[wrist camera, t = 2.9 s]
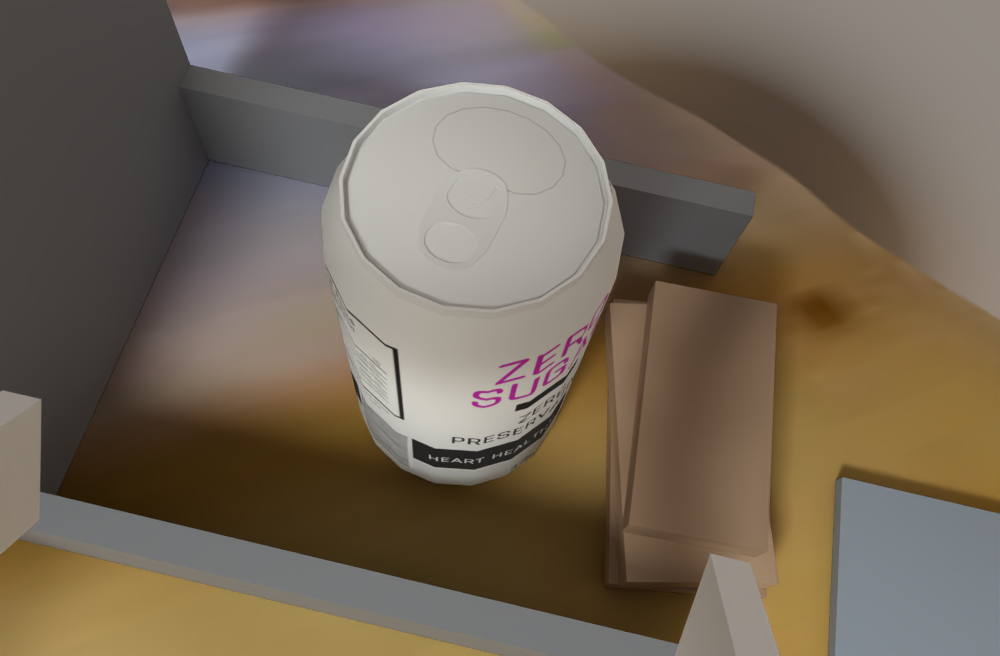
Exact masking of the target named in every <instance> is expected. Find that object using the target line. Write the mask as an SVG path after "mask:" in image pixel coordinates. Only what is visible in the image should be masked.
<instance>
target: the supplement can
mask: <svg viewBox="0 0 1000 656" xmlns="http://www.w3.org/2000/svg"><path fill="white" fill-rule="evenodd" d="M321 215H322V237H323V256H324V260H325V264H326V269H327V273H328V277H329V281H330V285H331V290H332V294H333V298H334V302H335V306H336V310H337V315H338V319H339V323H340V327H341V331H342V336H343V340H344V344H345V348H346V352H347V356H348V361H349V365H350V369H351V373H352V377H353V382H354V386H355V390H356V394H357V398H358V402H359V407H360V411H361V414H362V416H363V418H364V421H365V423H366V425H367V427H368V429H369V431H370V433H371V436H372V438H373V440H374V442H375V444H376V445H377V446H378V447H379V448H380V449H381V450H382V451H383V452H384V453H385V454H386V455H387V456H388V457H389V458H390V459H391V460H392V461H394V462H395V463H396V464H397V465H398V466H399V467H400V468H401V469H403V470H405V471H407V472H410V473H412V474H414V475H416V476H419V477H421V478H423V479H426V480H428V481H430V482H432V483H436V484H451V485H467V486H472V485H476V484H479V483H483V482H486V481H490V480H493V479H497V478H500V477H503V476H506V475H508V474H509V473H511V472H512V471H513V470H515V469H516V468H517V467H519V466H520V465H521V464H523V463H524V462H526V461H527V460H528V459H530V458H531V457H532V456H534V455H535V453H536V452H537V450H538V449H539V447H540V446H541V444H542V443H543V441H544V440H545V438H546V436H547V435H548V433H549V432H550V430H551V429H552V427H553V425H554V423H555V421H556V418H557V416H558V414H559V411H560V409H561V407H562V404H563V402H564V400H565V397H566V395H567V392H568V390H569V388H570V385H571V383H572V381H573V378H574V376H575V374H576V371H577V369H578V367H579V364H580V362H581V360H582V357H583V355H584V353H585V350H586V348H587V346H588V343H589V341H590V339H591V336H592V334H593V332H594V329H595V327H596V324H597V322H598V320H599V317H600V315H601V313H602V310H603V308H604V306H605V303H606V301H607V299H608V296H609V294H610V292H611V289H612V287H613V285H614V282H615V280H616V277H617V271H618V266H619V261H620V255H621V250H622V245H623V239H624V234H625V233H624V229H623V224H622V220H621V215H620V210H619V206H618V201H617V197H616V192H615V189H614V187H613V186H612V184H611V182H610V181H609V179H608V176H607V171H606V166H605V162H604V160H603V159H602V157H601V156H600V154H599V153H598V151H597V150H596V148H595V147H594V145H593V144H592V142H591V141H590V139H589V138H588V136H587V135H586V133H585V132H584V130H583V129H582V127H580V126H579V125H578V124H576V123H575V122H574V121H573V120H571V119H570V118H569V117H567V116H566V115H565V114H563V113H562V112H561V111H560V110H558V109H557V108H556V107H554V106H553V105H552V104H550V103H549V102H548V101H545V100H543V99H540V98H537V97H535V96H532V95H529V94H527V93H524V92H521V91H519V90H516V89H514V88H511V87H508V86H503V85H491V84H480V83H469V82H459V83H454V84H449V85H444V86H438V87H433V88H428V89H423V90H418V91H416V92H415V93H413V94H411V95H409V96H407V97H405V98H403V99H401V100H399V101H398V102H396V103H394V104H392V105H390V106H388V107H386V108H384V109H383V110H381V111H380V112H379V113H378V114H377V115H376V116H375V117H374V118H373V120H372V121H371V122H370V123H369V124H368V125H367V126H366V127H365V128H364V129H363V130H362V131H361V133H360V134H359V135H358V136H357V137H356V138H355V139H354V140H353V142H352V145H351V147H350V150H349V153H348V155H347V157H346V158H345V159H344V160H343V161H342V162H341V163H340V164H339V166H338V167H337V169H336V172H335V174H334V177H333V180H332V182H331V185H330V188H329V190H328V193H327V195H326V198H325V201H324V203H323V206H322V209H321Z"/></svg>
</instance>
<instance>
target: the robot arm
mask: <svg viewBox="0 0 1000 656" xmlns="http://www.w3.org/2000/svg"><path fill="white" fill-rule="evenodd" d="M40 460H41V399H38V398H34V397H29V396H25V395H21V394H16V393H12V392H8V391H1V392H0V555H1V554H2V553H3V552H4V551H5V550H6V549H7V548H8V547H9V546H11V545H12V544H13V543H14V542H15V541H16V540H17V539H18V538H20V537H21V536H22V535H23V534H24V533H25V532H26V531H27V530H29V529H30V528H31V527H32V526H33V525H34V524H35V523H36V522H37V521H39V520H40ZM675 656H780V654H779V651H778V648H777V645H776V642H775V639H774V636H773V633H772V629H771V626H770V623H769V620H768V617H767V614H766V611H765V608H764V605H763V601H762V598H761V595H760V592H759V589H758V586H757V583H756V580H755V577H754V574H753V570H752V567H751V564H750V563H749V562H745V561H741V560H736V559H732V558H728V557H723V556H719V555H715V554H710V556H709V559H708V562H707V565H706V567H705V570H704V573H703V576H702V579H701V582H700V585H699V587H698V590H697V593H696V596H695V599H694V602H693V604H692V607H691V610H690V613H689V616H688V619H687V622H686V624H685V627H684V630H683V633H682V636H681V639H680V642H679V644H678V647H677V650H676V653H675Z"/></svg>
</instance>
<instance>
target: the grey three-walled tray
mask: <svg viewBox="0 0 1000 656" xmlns="http://www.w3.org/2000/svg"><path fill="white" fill-rule="evenodd" d="M383 109H384V108H379V107H375V106H371V105H366V104H362V103H357V102H353V101H348V100H344V99H339V98H335V97H331V96H326V95H322V94H317V93H313V92H308V91H304V90H299V89H295V88H291V87H286V86H282V85H277V84H273V83H268V82H264V81H259V80H255V79H251V78H246V77H242V76H237V75H233V74H228V73H224V72H220V71H215V70H211V69H206V68H202V67H197V66H193V65H190V63H189V61H188V58H187V55H186V53H185V50H184V47H183V45H182V42H181V39H180V37H179V34H178V31H177V29H176V26H175V23H174V21H173V18H172V15H171V13H170V10H169V7H168V5H167V2H166V0H0V392H1V391H8V392H12V393H16V394H21V395H25V396H29V397H34V398H38V399H41V460H40V520H39V521H37V522H36V523H35V524H34V525H33V526H32V527H31V528H30V529H29V530H27V531H26V532H25V533H24V534H23V535H22V536H21V537H20V538H18V539H20V540H24V541H28V542H32V543H36V544H40V545H45V546H49V547H53V548H57V549H61V550H65V551H70V552H74V553H78V554H82V555H86V556H90V557H94V558H99V559H103V560H107V561H111V562H115V563H119V564H124V565H128V566H132V567H136V568H140V569H144V570H149V571H153V572H157V573H161V574H165V575H169V576H173V577H178V578H182V579H186V580H190V581H194V582H198V583H203V584H207V585H211V586H215V587H219V588H223V589H228V590H232V591H236V592H240V593H244V594H248V595H253V596H257V597H261V598H265V599H269V600H273V601H277V602H282V603H286V604H290V605H294V606H298V607H302V608H307V609H311V610H315V611H319V612H323V613H327V614H332V615H336V616H340V617H344V618H348V619H352V620H356V621H361V622H365V623H369V624H373V625H377V626H381V627H386V628H390V629H394V630H398V631H402V632H406V633H411V634H415V635H419V636H423V637H427V638H431V639H435V640H440V641H444V642H448V643H452V644H456V645H460V646H465V647H469V648H473V649H477V650H481V651H485V652H490V653H494V654H498V655H502V656H675V653H676V650H677V647H678V644H675V643H671V642H667V641H663V640H659V639H654V638H650V637H646V636H642V635H638V634H633V633H629V632H625V631H621V630H617V629H613V628H608V627H604V626H600V625H596V624H592V623H587V622H583V621H579V620H575V619H571V618H566V617H562V616H558V615H554V614H550V613H546V612H541V611H537V610H533V609H529V608H525V607H520V606H516V605H512V604H508V603H504V602H500V601H495V600H491V599H487V598H483V597H479V596H474V595H470V594H466V593H462V592H458V591H453V590H449V589H445V588H441V587H437V586H433V585H428V584H424V583H420V582H416V581H412V580H407V579H403V578H399V577H395V576H391V575H386V574H382V573H378V572H374V571H370V570H366V569H361V568H357V567H353V566H349V565H345V564H340V563H336V562H332V561H328V560H324V559H320V558H315V557H311V556H307V555H303V554H299V553H294V552H290V551H286V550H282V549H278V548H273V547H269V546H265V545H261V544H257V543H253V542H248V541H244V540H240V539H236V538H232V537H227V536H223V535H219V534H215V533H211V532H206V531H202V530H198V529H194V528H190V527H186V526H181V525H177V524H173V523H169V522H165V521H160V520H156V519H152V518H148V517H144V516H140V515H135V514H131V513H127V512H123V511H119V510H114V509H110V508H106V507H102V506H98V505H93V504H89V503H85V502H81V501H77V500H73V499H68V498H64V497H60V496H56V494H57V492H58V490H59V488H60V486H61V483H62V481H63V479H64V477H65V475H66V472H67V470H68V468H69V466H70V464H71V461H72V459H73V457H74V455H75V453H76V450H77V448H78V446H79V444H80V442H81V439H82V437H83V435H84V433H85V431H86V429H87V426H88V424H89V422H90V420H91V418H92V415H93V413H94V411H95V409H96V407H97V404H98V402H99V400H100V398H101V396H102V393H103V391H104V389H105V387H106V385H107V382H108V380H109V378H110V376H111V374H112V371H113V369H114V367H115V365H116V363H117V360H118V358H119V356H120V354H121V352H122V350H123V347H124V345H125V343H126V341H127V339H128V336H129V334H130V332H131V330H132V328H133V325H134V323H135V321H136V319H137V317H138V314H139V312H140V310H141V308H142V306H143V303H144V301H145V299H146V297H147V295H148V292H149V290H150V288H151V286H152V284H153V281H154V279H155V277H156V275H157V273H158V271H159V268H160V266H161V264H162V262H163V260H164V257H165V255H166V253H167V251H168V249H169V246H170V244H171V242H172V240H173V238H174V235H175V233H176V231H177V229H178V227H179V224H180V222H181V220H182V218H183V216H184V213H185V211H186V209H187V207H188V205H189V202H190V200H191V198H192V196H193V194H194V192H195V189H196V187H197V185H198V183H199V181H200V178H201V176H202V174H203V172H204V170H205V167H206V165H207V163H208V161H209V160H212V161H216V162H220V163H225V164H229V165H234V166H238V167H242V168H247V169H251V170H256V171H260V172H264V173H269V174H273V175H278V176H282V177H286V178H291V179H295V180H299V181H304V182H308V183H313V184H317V185H321V186H326V187H330V185H331V182H332V180H333V177H334V174H335V172H336V169H337V167H338V166H339V164H340V163H341V162H342V161H343V160H344V159H345V158H346V157H347V155H348V153H349V150H350V147H351V145H352V142H353V140H354V139H355V138H356V137H357V136H358V135H359V134H360V133H361V131H362V130H363V129H364V128H365V127H366V126H367V125H368V124H369V123H370V122H371V121H372V120H373V118H374V117H375V116H376V115H377V114H378V113H379V112H380V111H381V110H383ZM602 159H603V160H604V162H605V166H606V171H607V176H608V179H609V181H610V182H611V184H612V186H613V187H614V189H615V192H616V197H617V201H618V206H619V210H620V215H621V220H622V224H623V229H624V233H625V234H624V239H623V245H622V250H621V254H624V255H629V256H633V257H637V258H642V259H646V260H651V261H655V262H659V263H664V264H668V265H673V266H677V267H681V268H686V269H690V270H695V271H699V272H703V273H708V274H712V275H715V274H716V272H717V271H718V269H719V268H720V266H721V265H722V263H723V261H724V260H725V258H726V257H727V255H728V254H729V252H730V251H731V249H732V248H733V246H734V245H735V243H736V241H737V240H738V238H739V237H740V235H741V234H742V232H743V231H744V229H745V228H746V226H747V225H748V223H749V221H750V220H751V218H752V217H753V210H754V200H755V192H753V191H748V190H744V189H739V188H735V187H730V186H726V185H722V184H717V183H713V182H708V181H704V180H699V179H695V178H690V177H686V176H682V175H677V174H673V173H668V172H664V171H659V170H655V169H650V168H646V167H642V166H637V165H633V164H628V163H624V162H619V161H615V160H610V159H606V158H602Z"/></svg>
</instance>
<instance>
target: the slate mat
mask: <svg viewBox="0 0 1000 656" xmlns="http://www.w3.org/2000/svg"><path fill="white" fill-rule="evenodd" d="M828 656H1000V514H999V513H994V512H990V511H986V510H981V509H977V508H973V507H969V506H964V505H960V504H956V503H951V502H947V501H943V500H938V499H934V498H930V497H926V496H921V495H917V494H913V493H908V492H904V491H900V490H896V489H891V488H887V487H883V486H878V485H874V484H870V483H865V482H861V481H857V480H853V479H848V478H844V477H841V478H840V479H838V480H836V485H835V508H834V531H833V553H832V576H831V599H830V621H829V644H828Z"/></svg>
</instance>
